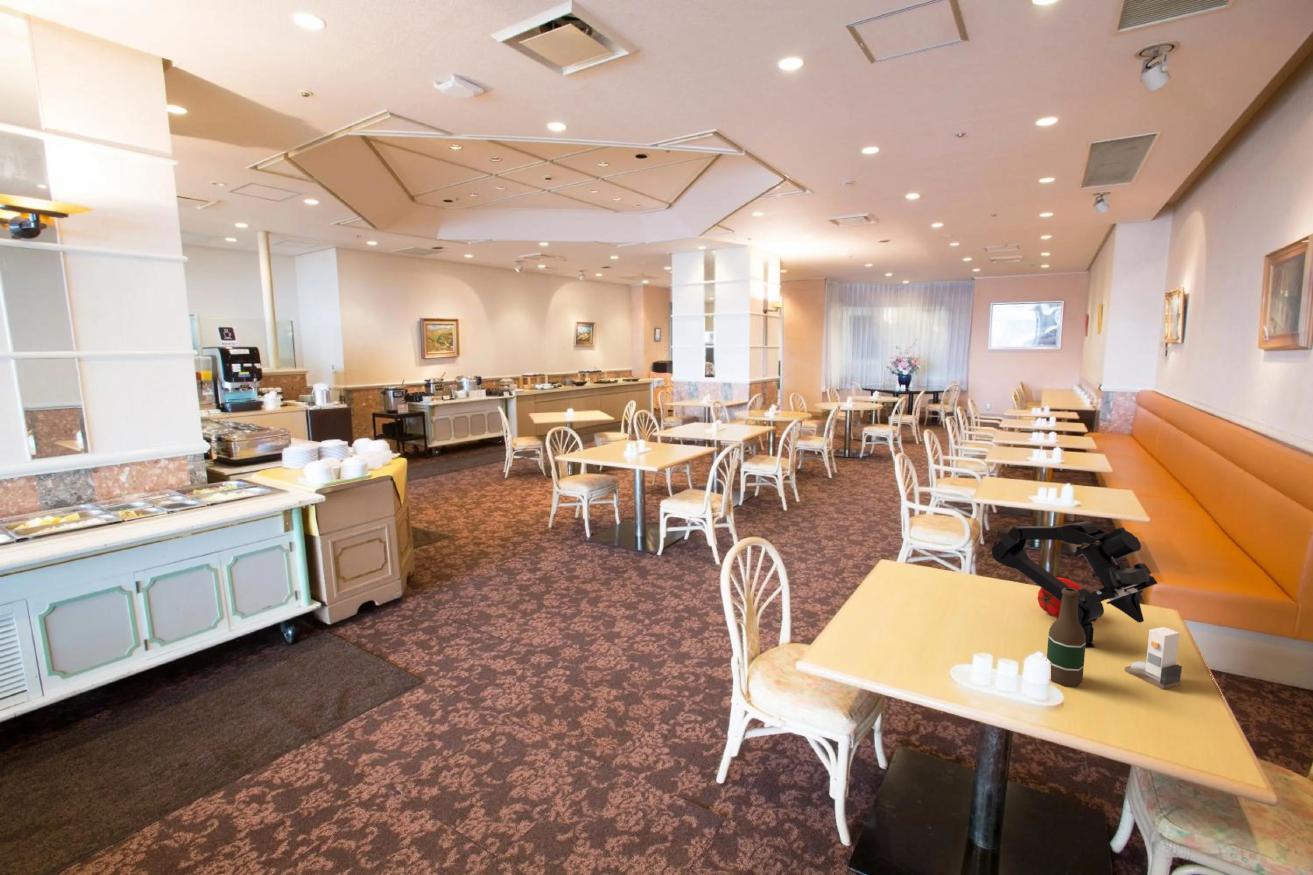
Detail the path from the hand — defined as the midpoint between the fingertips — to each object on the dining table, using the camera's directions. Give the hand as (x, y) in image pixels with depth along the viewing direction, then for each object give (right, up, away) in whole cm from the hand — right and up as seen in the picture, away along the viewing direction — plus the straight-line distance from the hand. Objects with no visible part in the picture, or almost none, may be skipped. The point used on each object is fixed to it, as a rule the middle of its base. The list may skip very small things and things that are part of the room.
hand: (1141, 621), depth 156 cm
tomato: (+1, -8, +33) cm, 34 cm away
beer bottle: (-22, -14, -3) cm, 26 cm away
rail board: (0, -13, -3) cm, 14 cm away
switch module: (+1, -11, -5) cm, 12 cm away
